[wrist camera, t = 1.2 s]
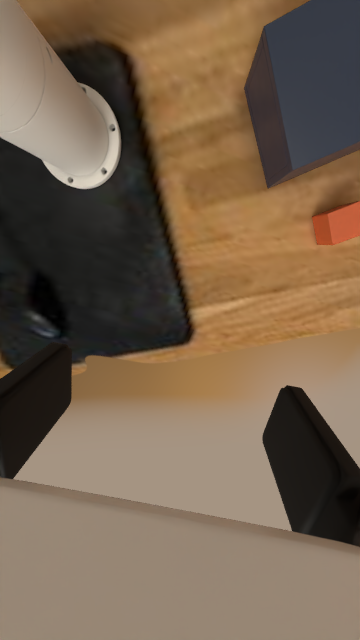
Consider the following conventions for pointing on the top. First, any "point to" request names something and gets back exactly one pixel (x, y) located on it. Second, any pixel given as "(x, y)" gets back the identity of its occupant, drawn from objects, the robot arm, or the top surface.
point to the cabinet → (306, 88)
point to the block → (337, 224)
